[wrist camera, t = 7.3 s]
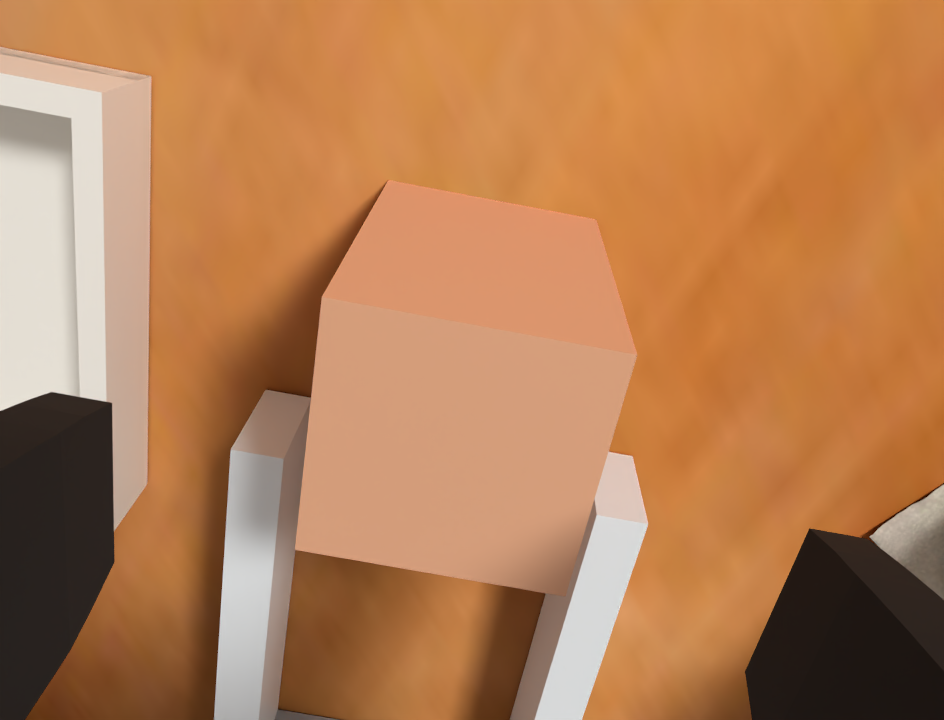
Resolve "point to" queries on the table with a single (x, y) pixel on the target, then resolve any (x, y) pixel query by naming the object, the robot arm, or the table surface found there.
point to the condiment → (918, 540)
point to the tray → (77, 245)
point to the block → (464, 390)
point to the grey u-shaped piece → (297, 716)
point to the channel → (272, 560)
